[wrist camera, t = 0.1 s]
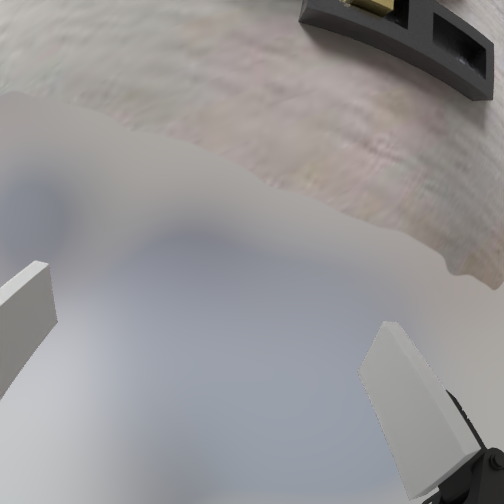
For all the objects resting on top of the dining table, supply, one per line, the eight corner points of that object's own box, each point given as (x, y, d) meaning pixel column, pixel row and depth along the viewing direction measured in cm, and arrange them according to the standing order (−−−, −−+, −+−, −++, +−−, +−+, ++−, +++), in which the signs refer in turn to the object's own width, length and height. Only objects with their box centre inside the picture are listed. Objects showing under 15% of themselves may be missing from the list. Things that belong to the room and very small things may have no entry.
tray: (310, -33, 24) (318, -50, 19) (475, 47, 27) (493, 43, 22) (298, 21, 28) (306, 6, 23) (472, 100, 31) (492, 100, 26)
